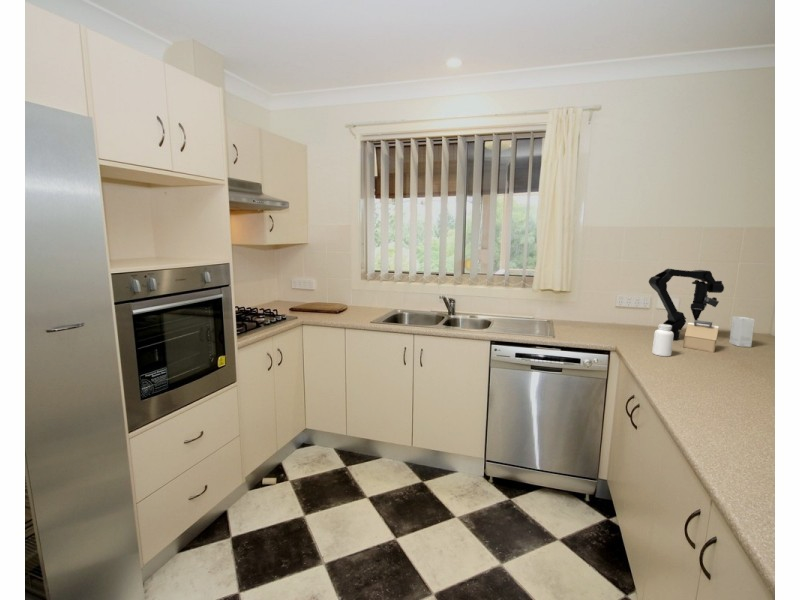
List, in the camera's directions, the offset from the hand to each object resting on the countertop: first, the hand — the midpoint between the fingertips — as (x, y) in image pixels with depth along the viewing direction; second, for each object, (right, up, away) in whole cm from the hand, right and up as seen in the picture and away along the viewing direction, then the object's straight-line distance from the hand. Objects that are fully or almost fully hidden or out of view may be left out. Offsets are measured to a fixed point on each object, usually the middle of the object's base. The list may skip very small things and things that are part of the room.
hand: (696, 319), depth 223 cm
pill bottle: (-40, -16, -29) cm, 52 cm away
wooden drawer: (-10, -15, -15) cm, 24 cm away
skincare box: (+17, -14, -8) cm, 24 cm away
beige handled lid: (-11, -6, -18) cm, 21 cm away
